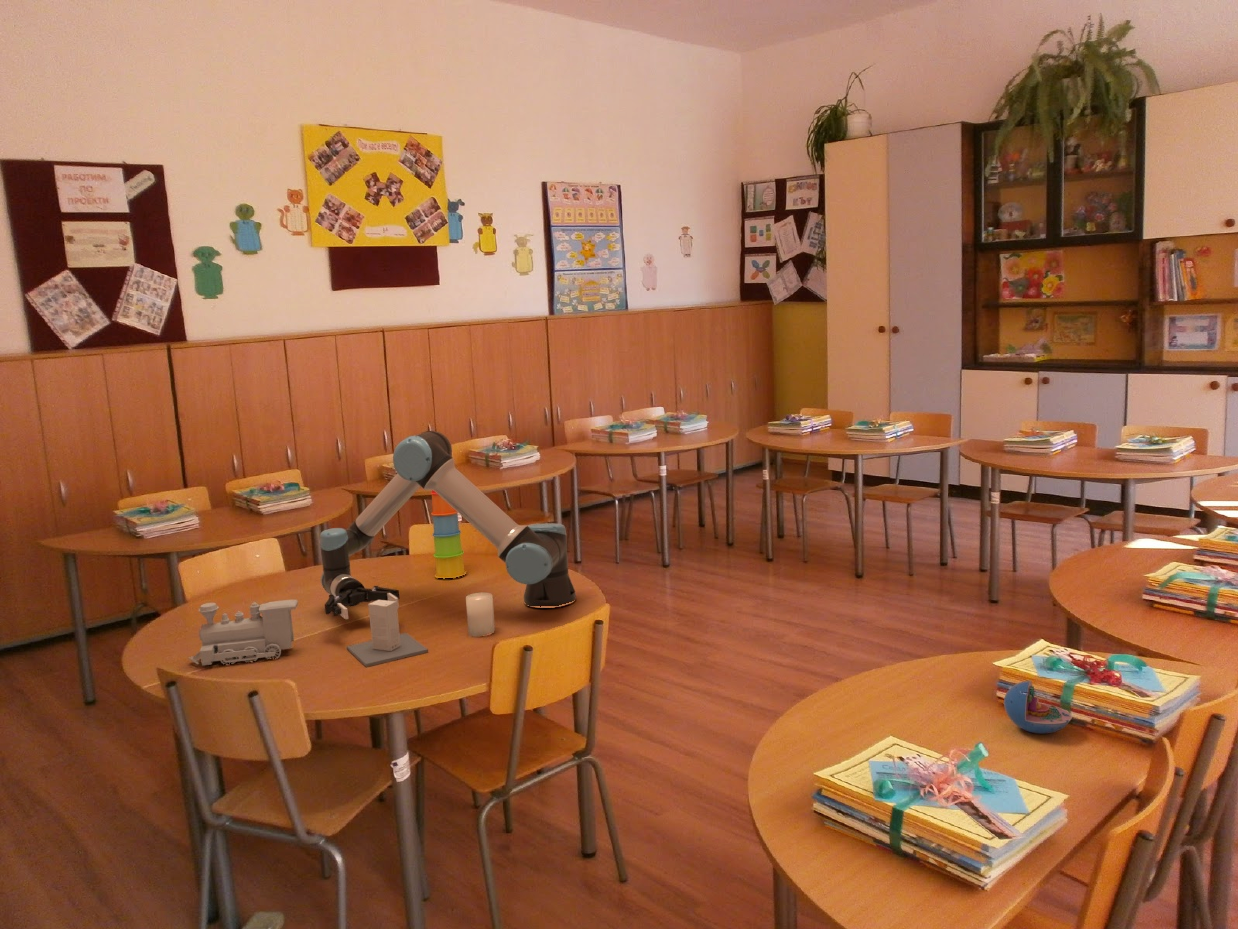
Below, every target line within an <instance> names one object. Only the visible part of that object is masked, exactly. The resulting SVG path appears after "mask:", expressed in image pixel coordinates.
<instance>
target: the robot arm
mask: <svg viewBox="0 0 1238 929" xmlns="http://www.w3.org/2000/svg"><path fill="white" fill-rule="evenodd" d="M452 449H453V448H452V444H451V441H450V440H449V438H448V437H447V436H446V435H444V434H443V433H441V432H439V431H435V430H426V431H423V432H420V433H417V434H415V435H410V436H407V437H405V438H404V439H403V440H401V441H400V442H399V443H398V444H397V445H396V447H395V448H394V451H393V455H392V463H393V467H394V469H395V471H396V474H395V475H394V476H393V477H392V479H390V481H388V483H387V484H386V485H385V486H384V487H383V489H382V490H381V491H380V492H379V493H378V494H377V495H376V497H374V499H373V500H372V501H370V503H369V504H368V505H367V507H365V509H363V511H362V512H361V513H360V514H359V515H358V516H357V517H356V518H355V520H354V521H353V522H352V523H351V524H350V525H348V527H347V528H346V529H345V528H342V527H334V528H333V527H332V528H329V529H325V530H322V531H321V532H320V534H319V537H320V539H319V541H320V543H319V547H320V551H321V552H320V553H321V562H322V571H323V572H322V574H321V576H320V583H321V587H322V588H323V589H324V590H325V592H326V593H327V594H328V599H327V600H326V602H325V603H324V610H325V612H324V613H325V614H326V615H330V614H331V613H332V615H333V616H334V617H337V616H338V615H340V616H341V617H342V618H343V619H345V620H349V610H348V608H347V607H349V608H350V607H355V606H358V605H359V604H360V603H363V602H364V603H372V601H373V602H374V601H377V600H386V601H396V603H397V609H399V608H400V606H399V600H400V590H399V589H394V588H389V587H387V588H386V587H382V586H379V585H374V586H372V587H373V589H372V588H365V586H364V584H363V583H362V582H360V581H359V580H358V579H356V578H355V577H353V576H351V575H352V573H351V562H350V560H351V559H350V557H351V556H352V555H354V554H357V553H358V552H360V551H361V550H364V549H366V548H368V546H370V545H371V544H372V542H373V541H374V539H375V536H376V535H377V534H378V533H379V532H380V531H381V530H382V529H383V527H384V526H385V525H386V524H387V523H388V522H389V521H390V520H391V519H392V518H393V516H395V514H397V512H398V511H399V510H400V509H401V508H402V507H403V506H404V505H405V504H406V503H407V502H408V500H410V498H411V497H412V496H413V495H414V494H415V493H416V492H417V491H418V490H419V488H422V489H423V490H424V491H432V490H434V491H435V492H436V493H437V494H438V495H439V496H440V497H442V498H443V499H444V500H445V501H446V502H447V503H448V504H449V505H450V506H451V507H453V508H454V509H455V510H456V511H457V512H458V513H457V514H458V515H460V516H462V518H463V519H465V520H466V521H467V522H468V523H469V524H470V525H471V526H472V527H473V528H474V529H475V530H477V531H478V532H479V533H480V534H481V536H484V538H485V539H487V541H489V542H490V543H491V544H492V545H493V546H494V547H495V548H496V549H497V557H498V558H499V559H500V560H501V561H503V563H505V568H506V571H507V573H508V575H509V576H510V578H512V579H513V580H514V581H515V582H517V583H520V584H521V585H522V584H523V585H525V588H524V594H523V603H524V602H525V603H526V604H527V605H529V606H540V607H541V606H559V605H562V604H566V603H569V602H572V601H574V600H575V599H576V600H577V595H576V594H577V593H576V589H575V587H574V585H573V582H572V579H571V577H570V575H569V562H568V561H569V558H568V543H567V542H568V541H567V540H568V539H567V537H568V535H567V530H566V527H565V525H564V524H562V523H547V522H546V523H531V524H529V525H527V524H524V525H523V524H521V525H520V524H518V523H517V522H515V520H514V519H513V518H512V517H510V516H509V515H508V514H507V513H506V512H504V510H503V509H501V508H500V507H499V506H498V505H497V504H496V503H495V502H493V501H492V500H491V498H489V497H488V496H487V495H486V494H485V493H483V491H481V490H480V489H479V488H478V487H477V486H476V485H475V484H474V483H472V481H471V480H469V479H468V478H467V477H466V476H465V475H464V474H463V473H462V472H461V471H459V470H458V469H457V468H456V467H455V459H454V458H453V457H452V456H453V450H452Z"/></svg>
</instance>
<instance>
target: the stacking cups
mask: <svg viewBox="0 0 1238 929" xmlns="http://www.w3.org/2000/svg"><path fill="white" fill-rule="evenodd" d="M430 495H431V503H432V512H431V513H430V514H431V516H432V523H433V524H432V525H433V533H432V536H433V541H434V542H433V543H434V554H433V557H434V558H435V570H436V574H434V578H435V579H438V578H443V579H442V580H446V579H445V578H453V579H457V578H456V577H458V578H460V577H459V576H462V575H464V576H465V574H466V572H467V570H465V565H464V553H465V552H464V550H462V541H461V540H462V538H461V534H462V531H461V530H460V527H459V517H458V515H459V513H458V512H457V511H456V510H455V509H454V508H453V507H451V506H450V505H449V504H448V503H447V502H446V501H445V500H444V499H443V498H442V497H440V496H439V495H438V494H437V493H436V492H435V491H434V490H431V492H430ZM464 571H465V574H464ZM436 575H437V576H436ZM466 575H467V574H466ZM462 577H463V576H462Z"/></svg>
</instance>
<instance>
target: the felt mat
mask: <svg viewBox="0 0 1238 929" xmlns="http://www.w3.org/2000/svg"><path fill="white" fill-rule="evenodd" d="M400 644H401V646H400V647H398V648H396V649H394V650H392V651H386V650H378V649H373V648H372V640H368V641H363V642H360V643H359V642H358V643H355V644H352V645H347V646H346V650H347V651H348V652H349V653H350V654H351V655H353V656H354V657H355V658H356V659H357V660H358V661H359V662H360V663H361V664H362V665H363V666H364V667H365V668H369V667H372V666H377V665H381V664H382V665H383V664H385V663H388V662H389V661H390V662H393V661H398V660H402V659H406V658H405V657H407V658H410V657H414V656H418V655H422V654H427V653H429V649H428V648H427V647H425V646H424V645H423V644H422V643H420V642H419V641H417V639H415V638H414V637H413V636H411V635H410V634H408V633H407V632H404V633H400ZM397 659H398V660H397Z"/></svg>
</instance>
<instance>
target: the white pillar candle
mask: <svg viewBox="0 0 1238 929" xmlns="http://www.w3.org/2000/svg"><path fill="white" fill-rule="evenodd" d="M493 597H494V596H493V594H492V593H490V592H474V593H471V594H470V593H469V594H467V596H465V603H466V604H465V605H466V616H467V617H466V618H467V631H468V636H470V637H472V636H473V638H478V637H477V636H483V635H487V634H489V633H493V632H494V631H495V632H496V627H495V626H496V624H495V613H494V612H495V611H494V598H493Z"/></svg>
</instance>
